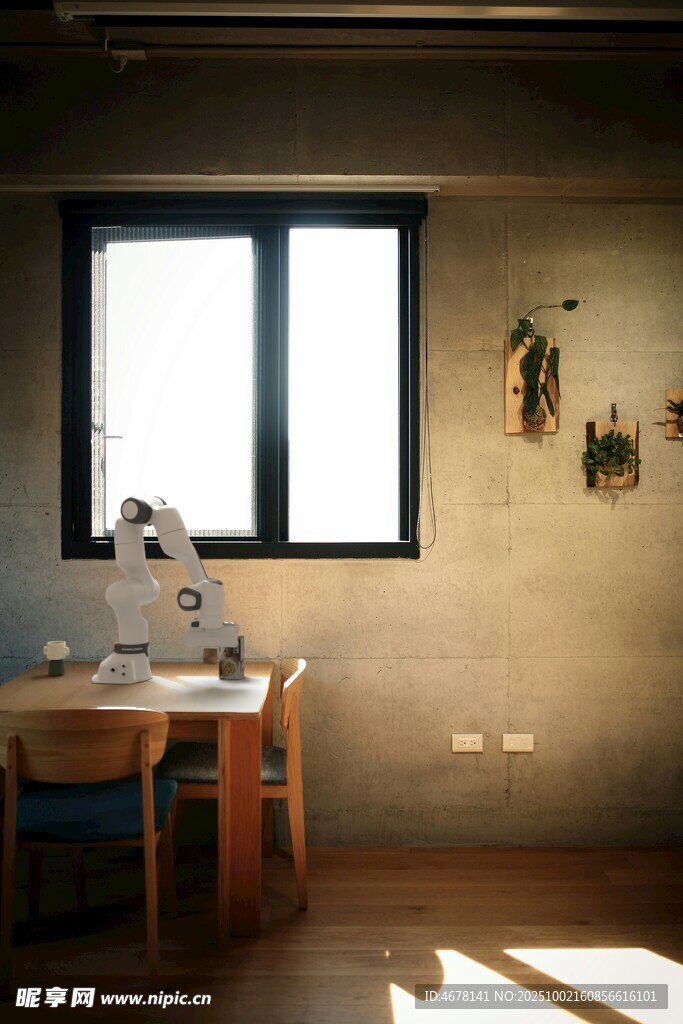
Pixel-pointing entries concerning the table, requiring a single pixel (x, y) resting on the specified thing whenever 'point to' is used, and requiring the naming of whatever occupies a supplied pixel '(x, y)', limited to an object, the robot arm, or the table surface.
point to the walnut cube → (210, 656)
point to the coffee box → (232, 661)
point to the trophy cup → (56, 656)
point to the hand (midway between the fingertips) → (210, 658)
